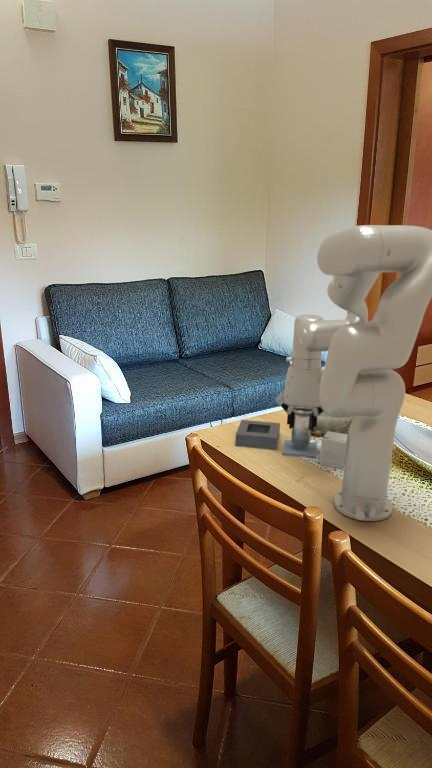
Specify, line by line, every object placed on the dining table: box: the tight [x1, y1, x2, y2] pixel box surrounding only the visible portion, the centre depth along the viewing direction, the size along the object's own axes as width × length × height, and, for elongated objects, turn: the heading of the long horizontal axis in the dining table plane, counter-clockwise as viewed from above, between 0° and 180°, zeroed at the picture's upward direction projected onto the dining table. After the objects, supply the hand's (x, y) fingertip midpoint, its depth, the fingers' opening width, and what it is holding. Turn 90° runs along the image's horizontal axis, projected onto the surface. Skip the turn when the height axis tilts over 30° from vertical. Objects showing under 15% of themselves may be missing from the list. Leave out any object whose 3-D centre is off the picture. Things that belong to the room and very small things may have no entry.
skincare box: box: [319, 431, 347, 470], centre depth 144 cm, size 6×6×7 cm
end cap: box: [291, 406, 313, 446], centre depth 151 cm, size 6×6×10 cm
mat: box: [281, 439, 318, 459], centre depth 152 cm, size 9×9×1 cm
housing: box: [234, 419, 281, 451], centre depth 158 cm, size 11×11×4 cm
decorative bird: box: [310, 416, 354, 436], centre depth 161 cm, size 5×16×8 cm, turn 76°
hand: (301, 427), depth 151 cm, fingers closed on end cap, 5 cm apart
